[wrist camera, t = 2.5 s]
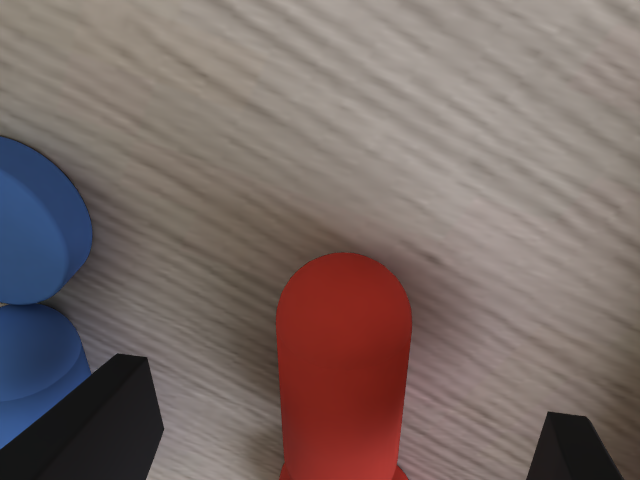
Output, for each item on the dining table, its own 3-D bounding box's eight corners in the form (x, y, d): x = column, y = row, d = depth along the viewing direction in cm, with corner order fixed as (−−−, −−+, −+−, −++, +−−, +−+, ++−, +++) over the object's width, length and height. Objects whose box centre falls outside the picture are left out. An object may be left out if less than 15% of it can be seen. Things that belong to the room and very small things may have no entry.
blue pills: (-90, 127, 11) (-207, 183, 9) (71, 139, 11) (-15, 201, 9) (43, 443, 16) (-12, 523, 14) (156, 461, 16) (114, 546, 14)
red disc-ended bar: (407, 533, 15) (401, 631, 13) (284, 511, 16) (261, 603, 14) (448, 236, 10) (449, 324, 8) (264, 219, 11) (223, 298, 9)
